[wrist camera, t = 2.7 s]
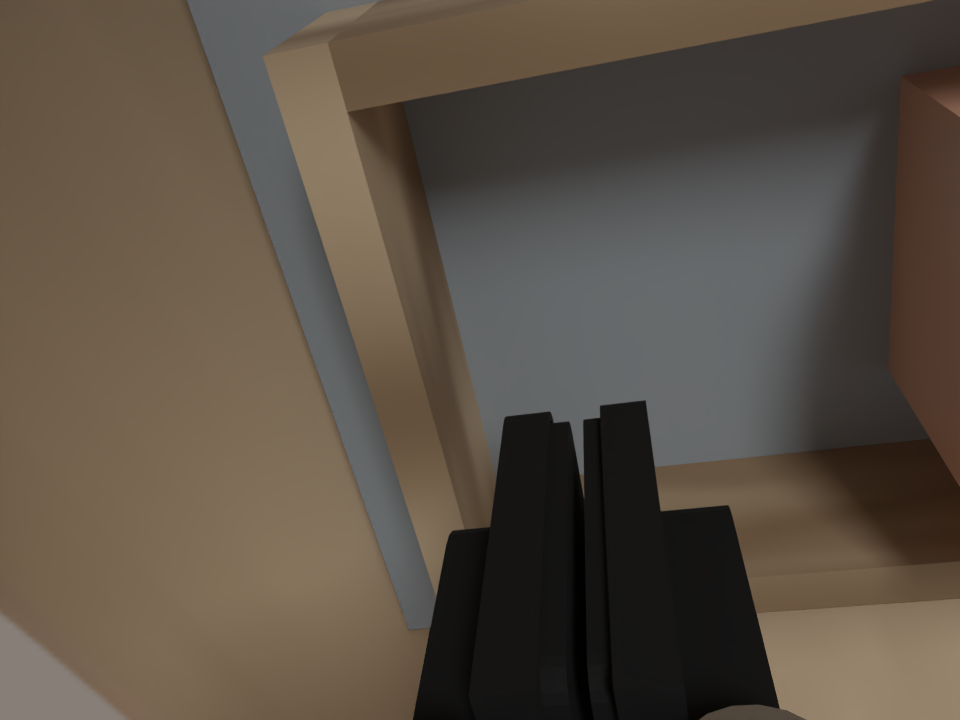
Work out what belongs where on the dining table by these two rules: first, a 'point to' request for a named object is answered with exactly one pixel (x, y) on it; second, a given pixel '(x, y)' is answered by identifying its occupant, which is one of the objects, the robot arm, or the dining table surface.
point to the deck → (629, 240)
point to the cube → (928, 257)
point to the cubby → (433, 325)
